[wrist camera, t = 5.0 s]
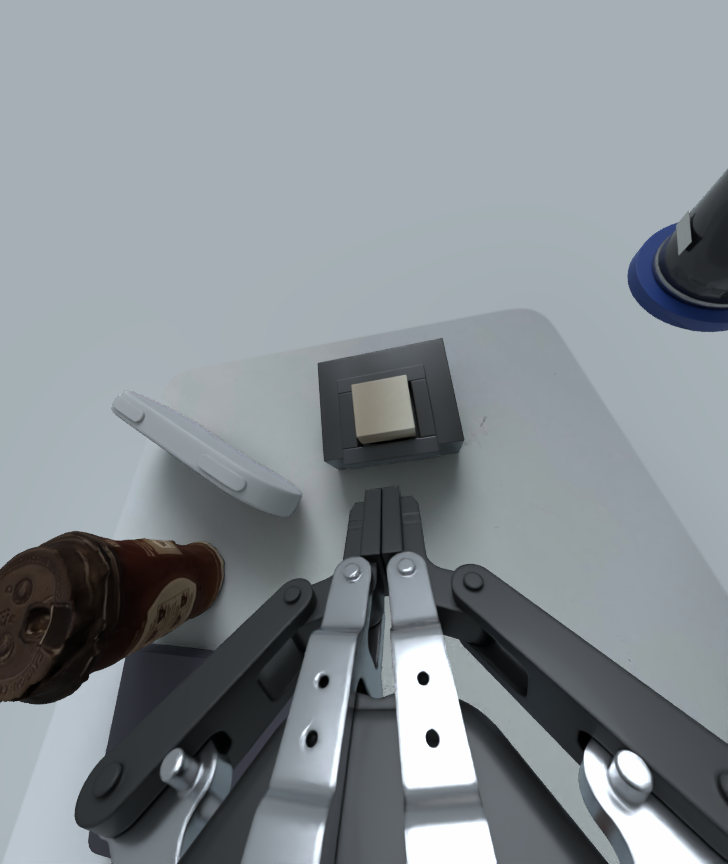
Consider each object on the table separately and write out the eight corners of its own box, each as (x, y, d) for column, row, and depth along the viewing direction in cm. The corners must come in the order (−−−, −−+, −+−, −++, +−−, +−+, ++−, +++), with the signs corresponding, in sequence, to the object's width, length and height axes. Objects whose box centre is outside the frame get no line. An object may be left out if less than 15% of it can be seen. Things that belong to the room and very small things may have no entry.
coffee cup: (255, 579, 27) (111, 629, 14) (188, 655, 26) (-24, 775, 14) (202, 511, 29) (43, 504, 17) (140, 577, 29) (-71, 619, 17)
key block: (440, 362, 29) (443, 324, 23) (460, 463, 26) (470, 447, 20) (331, 383, 31) (310, 351, 25) (338, 480, 28) (316, 469, 22)
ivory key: (407, 386, 23) (406, 374, 21) (415, 436, 22) (415, 428, 20) (357, 395, 24) (350, 384, 22) (362, 444, 22) (356, 437, 20)
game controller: (164, 427, 33) (84, 398, 25) (177, 410, 34) (101, 376, 26) (303, 520, 27) (253, 520, 19) (316, 498, 28) (273, 488, 20)
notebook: (377, 669, 23) (142, 642, 27) (374, 679, 21) (126, 649, 25) (375, 902, 19) (105, 830, 23) (371, 934, 18) (84, 851, 22)
